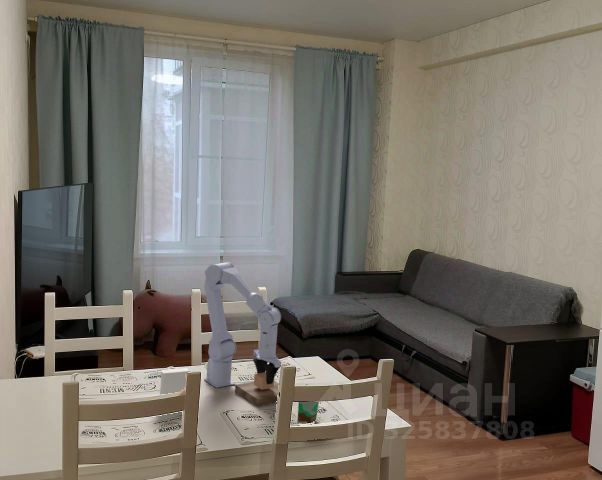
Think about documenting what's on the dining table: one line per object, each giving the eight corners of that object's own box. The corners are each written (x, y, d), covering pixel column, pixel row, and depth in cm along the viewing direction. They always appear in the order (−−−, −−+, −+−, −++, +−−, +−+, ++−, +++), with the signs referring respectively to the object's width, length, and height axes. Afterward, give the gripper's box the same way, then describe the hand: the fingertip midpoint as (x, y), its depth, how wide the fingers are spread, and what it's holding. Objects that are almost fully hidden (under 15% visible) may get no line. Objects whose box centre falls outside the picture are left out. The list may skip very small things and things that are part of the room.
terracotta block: (253, 384, 213) (254, 373, 213) (265, 382, 216) (266, 371, 216) (261, 389, 209) (262, 378, 209) (273, 387, 212) (274, 376, 212)
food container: (315, 431, 188) (318, 399, 187) (296, 427, 189) (298, 396, 188) (322, 415, 200) (324, 386, 199) (303, 412, 201) (306, 383, 200)
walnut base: (234, 391, 215) (235, 384, 215) (270, 385, 224) (270, 378, 224) (257, 406, 203) (258, 399, 203) (294, 399, 212) (294, 392, 212)
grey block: (163, 413, 192) (165, 376, 191) (156, 402, 200) (158, 367, 199) (191, 409, 196) (193, 374, 195) (183, 399, 204) (185, 365, 203)
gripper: (247, 338, 215) (244, 376, 216) (269, 350, 203) (267, 389, 205) (263, 336, 219) (261, 373, 220) (287, 348, 207) (284, 386, 209)
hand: (265, 381), depth 213 cm, fingers closed on terracotta block, 5 cm apart
